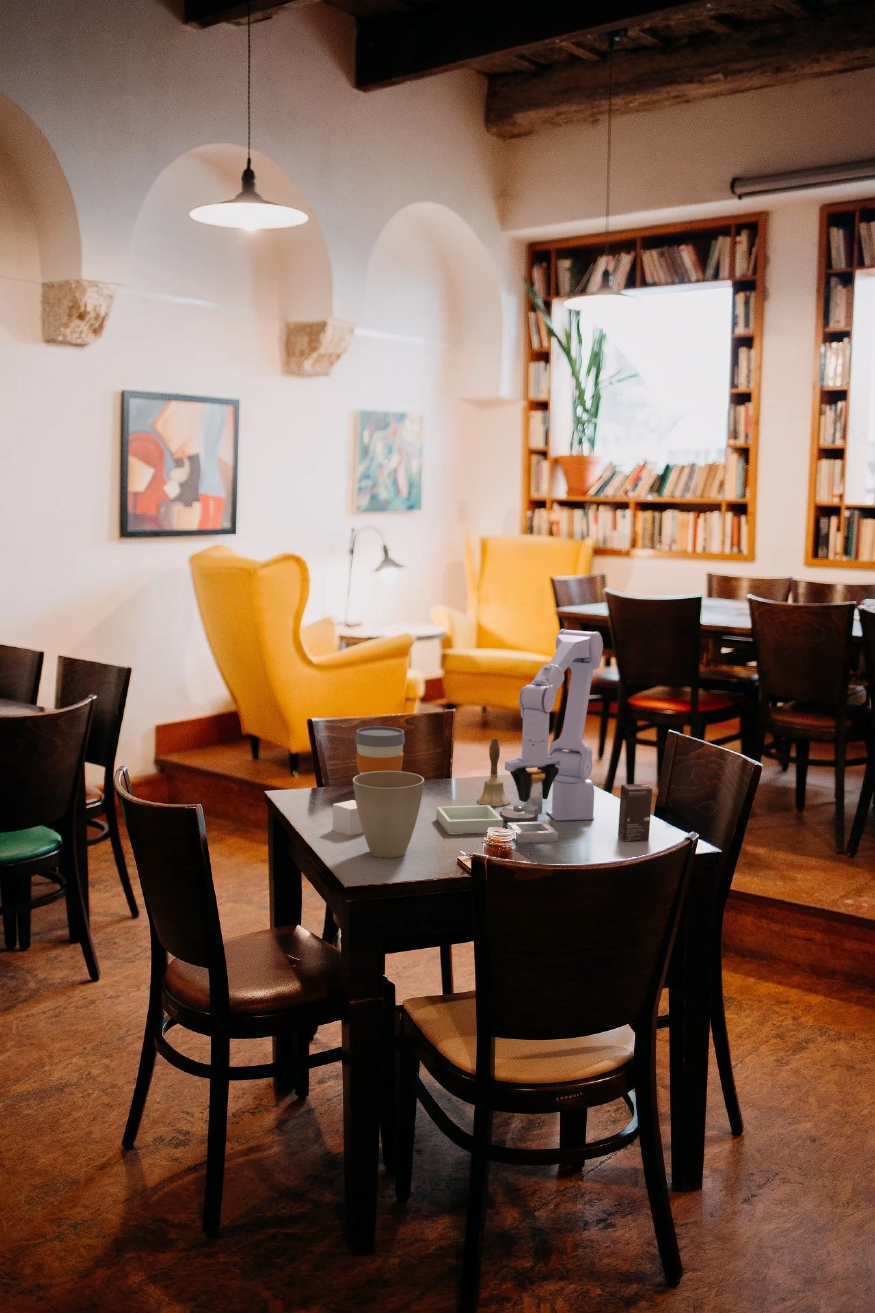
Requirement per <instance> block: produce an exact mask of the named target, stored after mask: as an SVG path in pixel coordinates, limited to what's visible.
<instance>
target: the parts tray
mask: <svg viewBox="0 0 875 1313" xmlns="http://www.w3.org/2000/svg"><path fill="white" fill-rule="evenodd" d="M492 807H493V806H490V805H480V804H478V805H456V806H454V805H453V806H436V808H435V810H436V812H435V814H436V815H435V816H436V818H435V820H436V819H437V820H438V821H437V820H436V821H437V822H438V823H439V822H440V824H441V825H442V826H441V825H440V824H439V825H440V826H441V828H442V827H443V828H444V829H445V830H444V829H443V828H442V829H443V830H444V831H445V833H446V832H447V833H448V834H450V833H479V834H486V833H485V832H486V831H487V829H488V828H489V827H503V828H504V825H503V819H502V818H501V817H500V814H499V813H498V812H497V811H496V810H495V809H494V808H492ZM447 833H446V834H447ZM448 834H447V835H448Z"/></svg>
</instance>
